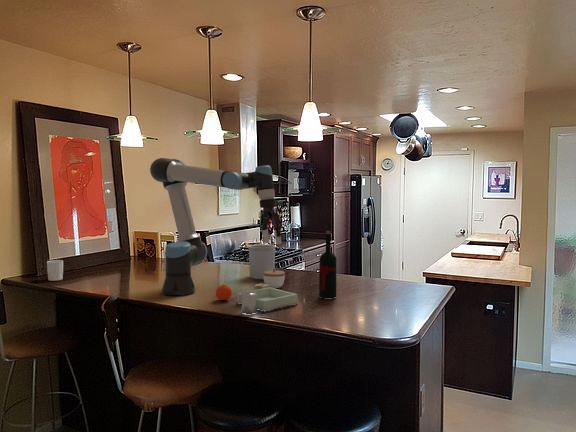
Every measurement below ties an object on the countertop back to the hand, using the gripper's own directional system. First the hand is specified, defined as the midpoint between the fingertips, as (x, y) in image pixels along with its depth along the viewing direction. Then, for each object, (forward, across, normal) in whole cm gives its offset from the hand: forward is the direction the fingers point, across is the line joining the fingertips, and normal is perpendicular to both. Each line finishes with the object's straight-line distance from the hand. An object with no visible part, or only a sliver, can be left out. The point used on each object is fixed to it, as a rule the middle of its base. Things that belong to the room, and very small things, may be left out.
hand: (272, 243), depth 213 cm
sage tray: (+24, -17, +14) cm, 32 cm away
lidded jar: (+23, +11, -3) cm, 25 cm away
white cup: (+8, +79, +93) cm, 122 cm away
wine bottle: (+26, -19, -15) cm, 36 cm away
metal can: (+23, -27, +26) cm, 44 cm away
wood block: (+23, -2, +9) cm, 25 cm away
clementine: (+21, -2, +28) cm, 35 cm away
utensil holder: (+21, +38, -8) cm, 44 cm away
